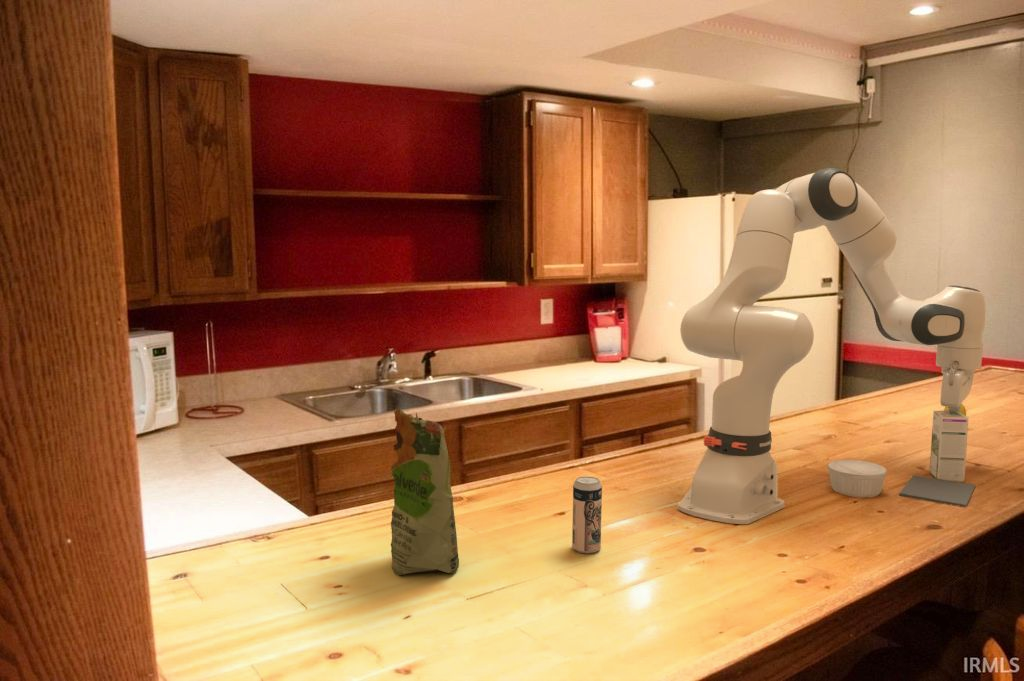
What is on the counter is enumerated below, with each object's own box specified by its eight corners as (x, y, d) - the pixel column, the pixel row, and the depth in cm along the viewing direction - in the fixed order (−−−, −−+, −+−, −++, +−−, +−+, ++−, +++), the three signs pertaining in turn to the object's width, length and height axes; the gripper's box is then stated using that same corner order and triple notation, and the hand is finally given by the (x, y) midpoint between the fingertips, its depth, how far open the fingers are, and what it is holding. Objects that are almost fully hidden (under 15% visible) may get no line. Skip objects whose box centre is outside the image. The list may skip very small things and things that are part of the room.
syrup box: (965, 482, 173) (970, 416, 171) (935, 480, 174) (940, 415, 172) (956, 474, 178) (961, 410, 176) (927, 472, 180) (932, 409, 178)
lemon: (965, 427, 224) (967, 399, 223) (964, 431, 219) (966, 402, 218) (943, 425, 227) (945, 397, 226) (941, 429, 222) (943, 400, 221)
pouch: (449, 586, 120) (449, 422, 116) (373, 579, 122) (371, 418, 118) (466, 557, 130) (467, 406, 127) (396, 551, 132) (395, 403, 129)
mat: (966, 507, 157) (966, 504, 157) (899, 495, 164) (899, 493, 163) (975, 487, 170) (975, 484, 169) (912, 477, 176) (913, 474, 176)
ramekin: (817, 491, 166) (819, 466, 166) (838, 479, 174) (839, 456, 174) (873, 503, 159) (875, 478, 158) (892, 491, 167) (894, 466, 166)
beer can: (592, 557, 131) (594, 486, 129) (566, 551, 133) (568, 481, 132) (605, 547, 135) (607, 478, 133) (580, 542, 137) (581, 474, 136)
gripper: (969, 366, 167) (963, 431, 169) (980, 355, 183) (975, 414, 185) (935, 363, 171) (930, 426, 172) (948, 353, 187) (944, 411, 189)
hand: (953, 420), depth 179 cm, fingers closed
